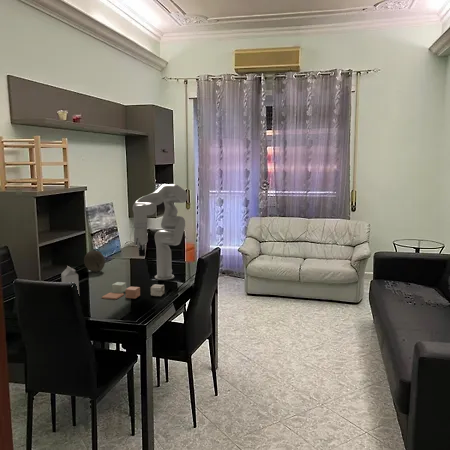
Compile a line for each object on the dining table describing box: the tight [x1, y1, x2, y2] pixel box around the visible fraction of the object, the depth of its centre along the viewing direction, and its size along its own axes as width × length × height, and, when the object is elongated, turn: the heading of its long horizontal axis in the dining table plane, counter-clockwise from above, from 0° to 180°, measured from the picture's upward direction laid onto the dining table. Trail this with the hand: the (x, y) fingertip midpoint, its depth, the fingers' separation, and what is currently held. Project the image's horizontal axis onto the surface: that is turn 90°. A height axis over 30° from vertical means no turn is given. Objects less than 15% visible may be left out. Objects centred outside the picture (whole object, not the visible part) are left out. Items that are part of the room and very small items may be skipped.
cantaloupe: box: [83, 250, 106, 273], centre depth 313 cm, size 14×14×15 cm
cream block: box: [150, 284, 165, 297], centre depth 260 cm, size 6×6×5 cm
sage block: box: [111, 281, 128, 293], centre depth 266 cm, size 6×6×5 cm
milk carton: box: [60, 265, 80, 295], centre depth 248 cm, size 7×7×19 cm
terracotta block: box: [124, 286, 141, 299], centre depth 256 cm, size 6×6×5 cm
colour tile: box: [101, 292, 125, 300], centre depth 257 cm, size 9×9×1 cm
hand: (142, 255), depth 269 cm, fingers closed
